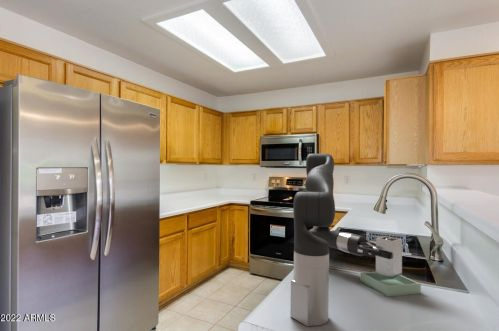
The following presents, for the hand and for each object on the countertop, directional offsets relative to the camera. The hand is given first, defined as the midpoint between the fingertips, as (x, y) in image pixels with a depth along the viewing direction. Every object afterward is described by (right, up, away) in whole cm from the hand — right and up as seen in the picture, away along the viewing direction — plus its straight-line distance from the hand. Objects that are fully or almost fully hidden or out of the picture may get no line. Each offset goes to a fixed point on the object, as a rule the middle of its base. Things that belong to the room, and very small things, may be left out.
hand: (396, 254), depth 93 cm
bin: (-2, -12, +1) cm, 12 cm away
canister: (-2, -7, +2) cm, 8 cm away
